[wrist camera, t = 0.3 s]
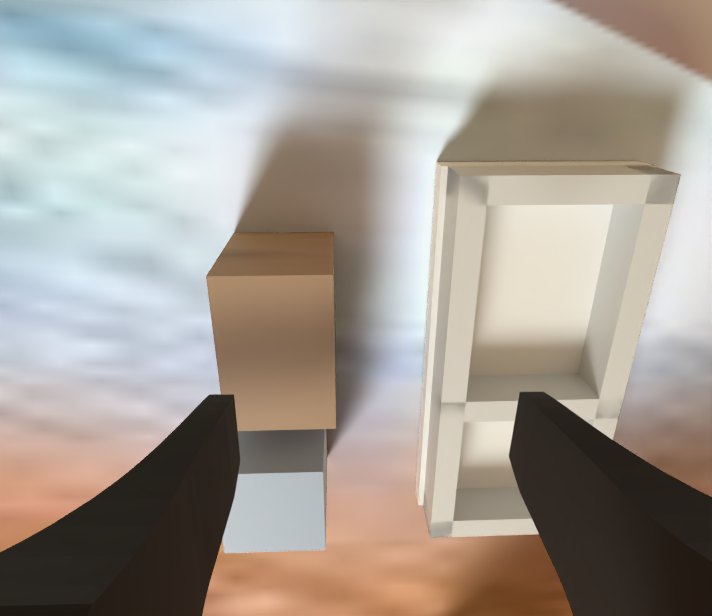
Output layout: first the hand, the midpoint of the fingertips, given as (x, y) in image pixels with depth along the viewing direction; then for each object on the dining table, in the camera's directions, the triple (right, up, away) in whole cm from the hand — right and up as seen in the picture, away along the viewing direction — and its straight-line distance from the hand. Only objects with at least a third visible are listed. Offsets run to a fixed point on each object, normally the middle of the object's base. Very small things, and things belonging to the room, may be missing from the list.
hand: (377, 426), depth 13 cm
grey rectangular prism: (-4, -3, +12) cm, 13 cm away
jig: (+7, +1, +10) cm, 12 cm away
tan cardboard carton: (-3, +3, +9) cm, 10 cm away
